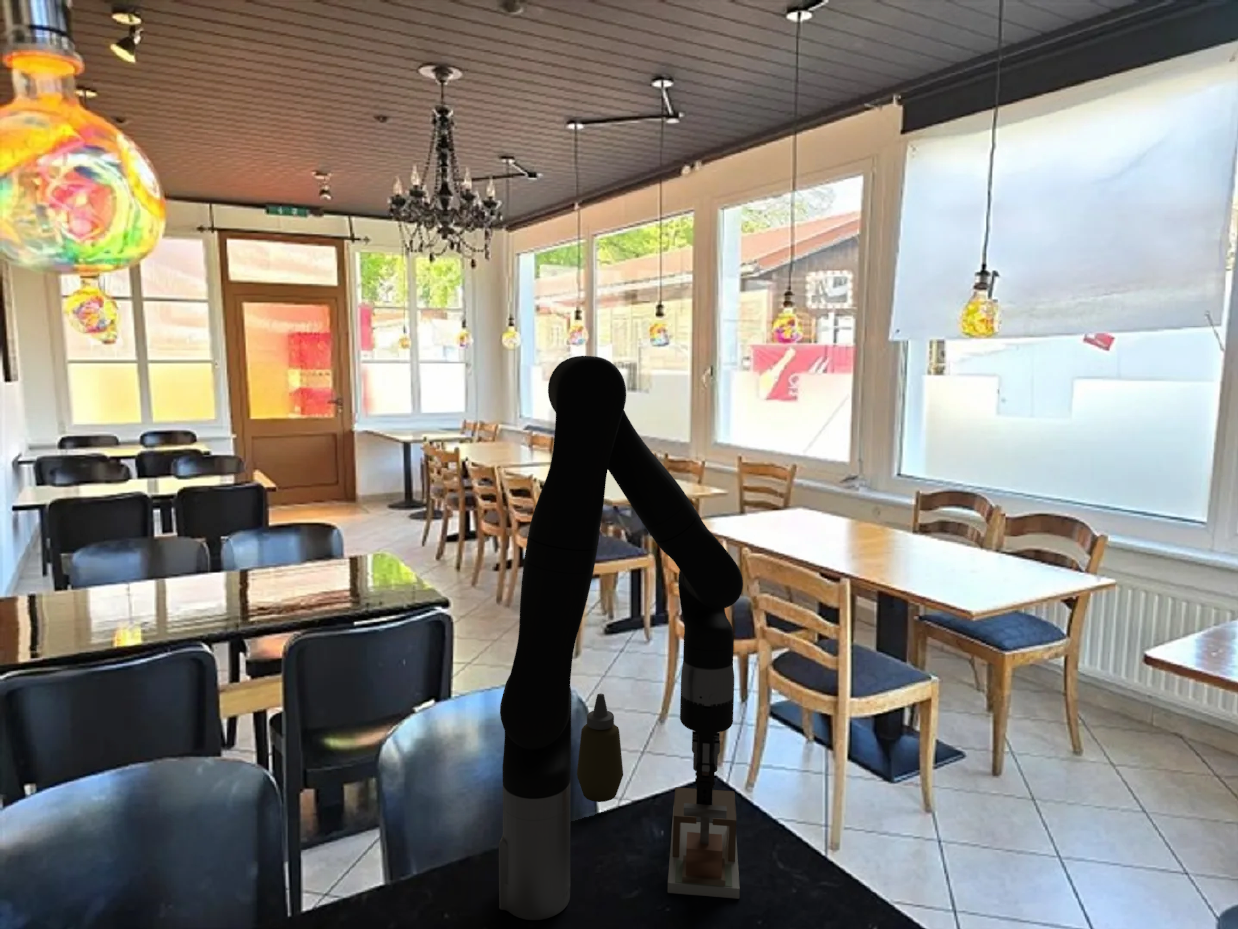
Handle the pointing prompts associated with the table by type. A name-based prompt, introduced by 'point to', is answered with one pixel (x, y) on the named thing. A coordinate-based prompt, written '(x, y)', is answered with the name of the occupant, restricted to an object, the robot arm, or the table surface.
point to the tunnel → (716, 826)
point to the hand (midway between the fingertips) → (704, 806)
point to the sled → (704, 848)
